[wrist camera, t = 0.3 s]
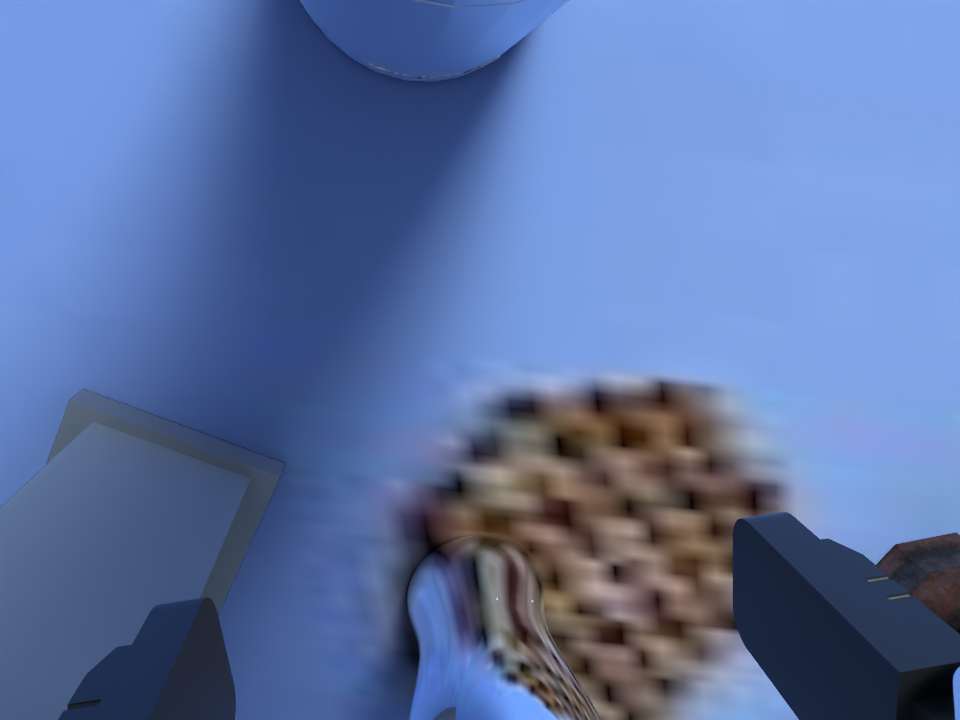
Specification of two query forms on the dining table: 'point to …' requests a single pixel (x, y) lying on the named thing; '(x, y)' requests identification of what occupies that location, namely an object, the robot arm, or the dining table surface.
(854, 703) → the robot arm
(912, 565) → the lantern
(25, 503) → the large grey rectangular box
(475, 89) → the dining table surface
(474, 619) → the beer glass
